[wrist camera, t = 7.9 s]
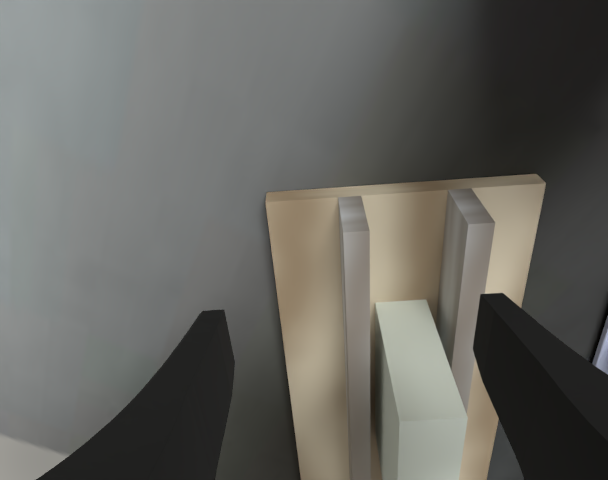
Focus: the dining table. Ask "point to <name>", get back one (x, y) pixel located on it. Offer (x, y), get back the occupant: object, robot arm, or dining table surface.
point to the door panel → (415, 396)
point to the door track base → (390, 299)
